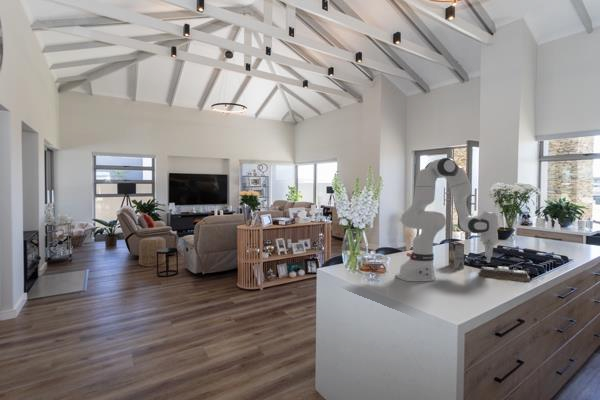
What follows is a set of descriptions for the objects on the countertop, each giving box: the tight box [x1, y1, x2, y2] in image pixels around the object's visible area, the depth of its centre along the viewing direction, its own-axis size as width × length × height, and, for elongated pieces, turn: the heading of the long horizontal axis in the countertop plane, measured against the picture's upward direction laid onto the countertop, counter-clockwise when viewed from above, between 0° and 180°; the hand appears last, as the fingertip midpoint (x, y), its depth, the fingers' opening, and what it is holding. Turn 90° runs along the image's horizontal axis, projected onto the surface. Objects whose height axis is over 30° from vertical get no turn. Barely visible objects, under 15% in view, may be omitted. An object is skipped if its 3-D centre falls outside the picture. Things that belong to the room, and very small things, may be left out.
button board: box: [479, 266, 531, 283], centre depth 178 cm, size 10×24×4 cm, turn 59°
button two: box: [512, 269, 525, 273], centre depth 174 cm, size 5×5×2 cm
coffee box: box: [448, 241, 465, 269], centre depth 202 cm, size 9×6×16 cm
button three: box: [482, 266, 494, 270], centre depth 182 cm, size 5×5×2 cm
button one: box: [497, 265, 509, 272], centre depth 178 cm, size 5×5×2 cm
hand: (488, 262), depth 181 cm, fingers closed
